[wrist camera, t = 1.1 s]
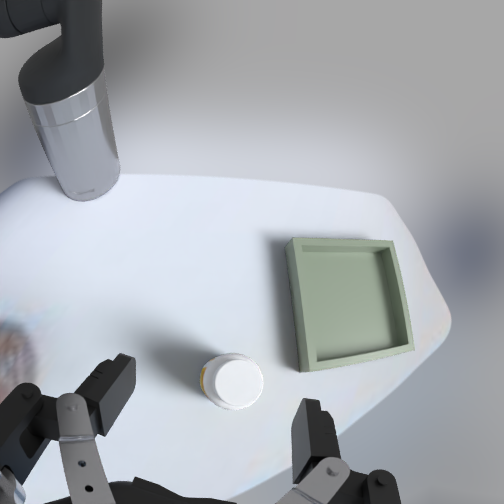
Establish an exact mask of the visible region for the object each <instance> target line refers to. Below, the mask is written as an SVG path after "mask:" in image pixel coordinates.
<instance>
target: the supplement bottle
mask: <svg viewBox="0 0 504 504" xmlns="http://www.w3.org/2000/svg"><path fill="white" fill-rule="evenodd" d="M200 386H201V389H202V391H203V392H204V394H205V395H206V396H207V397H208V398H209V399H210V401H212V402H213V403H214V404H215V405H217V406H219V407H221V408H223V409H227V410H240V409H244V408H246V407H248V406H250V405H251V404H253V403H254V402H255V401H256V400H257V399H258V397H259V396H260V394H261V392H262V389H263V376H262V373H261V370H260V368H259V367H258V365H257V364H256V363H255V362H254V361H253V360H252V359H250V358H249V357H247V356H245V355H242V354H238V353H228V354H223V355H220V356H218V357H216V358H213V359H211V360H210V361H208V362H207V363H206V364H205V366H204V367H203V369H202V371H201V374H200Z"/></svg>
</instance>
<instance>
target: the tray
mask: <svg viewBox="0 0 504 504" xmlns="http://www.w3.org/2000/svg"><path fill="white" fill-rule="evenodd" d="M285 252H286V260H287V267H288V275H289V283H290V290H291V299H292V307H293V315H294V324H295V332H296V341H297V351H298V360H299V370H300V372H313V371H319V370H325V369H331V368H337V367H342V366H348V365H353V364H358V363H363V362H367V361H372V360H376V359H381V358H385V357H389V356H393V355H397V354H401V353H405V352H409V351H413V350H415V348H414V341H413V334H412V327H411V321H410V316H409V310H408V305H407V300H406V295H405V290H404V285H403V280H402V276H401V271H400V267H399V263H398V259H397V255H396V251H395V247H394V243H393V241H387V240H359V239H328V238H292V239H291V240H290V242H289V243H288V244H287V245H286V247H285Z"/></svg>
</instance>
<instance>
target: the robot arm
mask: <svg viewBox="0 0 504 504" xmlns="http://www.w3.org/2000/svg"><path fill="white" fill-rule="evenodd" d="M59 23H60V24H61V33H62V35H61V36H59V37H58V38H57V39H55V40H54V41H52V42H51V43H49V44H47V45H46V46H44V47H43V48H41V49H40V50H38V51H37V52H36V53H35V54H33V55H32V56H31V57H30V58H29V59H28V60H27V61H26V63H25V64H24V65H23V67H22V68H21V70H20V73H19V77H18V81H19V87H20V90H21V92H22V96H23V99H24V101H25V104H26V107H27V110H28V112H29V115H30V118H31V120H32V123H33V125H34V127H35V130H36V132H37V135H38V137H39V140H40V142H41V144H42V147H43V149H44V151H45V154H46V156H47V158H48V160H49V162H50V164H51V167H52V169H53V171H54V173H55V175H56V177H57V179H58V181H59V183H60V185H61V187H62V189H63V191H64V193H65V194H66V195H67V196H68V197H70V198H71V199H74V200H77V201H88V200H93V199H96V198H98V197H100V196H102V195H104V194H105V193H106V192H108V191H109V190H110V189H111V188H112V187H113V186H114V184H115V183H116V181H117V179H118V177H119V173H120V164H119V159H118V154H117V148H116V143H115V137H114V132H113V126H112V120H111V115H110V109H109V101H108V94H107V88H106V79H105V71H104V59H103V44H102V43H103V41H102V0H0V38H10V37H15V36H19V35H22V34H25V33H28V32H31V31H35V30H38V29H41V28H44V27H48V26H52V25H55V24H59ZM135 384H136V360H135V358H134V357H131V356H128V355H125V354H122V353H120V354H118V356H117V357H116V358H115V359H114V360H113V361H112V360H109V359H107V360H105V361H103V362H101V363H100V364H99V365H98V366H97V367H96V368H95V369H94V371H92V373H91V374H90V376H88V377H87V378H86V379H85V381H84V382H83V383H82V384H81V385H80V386H79V388H78V389H77V390H76V391H75V392H74V393H66V394H63V395H61V396H60V397H59V398H54V397H50V396H46V395H42V394H41V391H40V389H39V388H38V387H37V386H36V385H34V384H32V383H22V384H19V385H18V386H17V387H16V388H15V389H14V390H13V391H12V392H11V393H10V394H9V395H8V396H7V397H6V398H5V399H4V401H3V402H2V403H1V404H0V504H24V502H25V499H26V494H25V491H24V489H23V487H22V485H23V483H24V482H25V480H26V479H27V477H28V475H29V474H30V472H31V470H32V469H33V467H34V466H35V464H36V462H37V461H38V459H39V458H40V456H41V455H42V453H43V451H44V450H45V448H46V447H47V445H48V444H49V442H50V441H51V440H55V441H59V446H60V451H61V457H62V462H63V467H64V472H65V476H66V481H67V485H68V489H69V493H70V496H69V497H66V498H62V499H59V500H56V501H52V502H49V503H45V504H237V503H234V502H228V501H222V500H217V499H212V498H188V497H182V496H180V495H178V494H176V493H174V492H172V491H170V490H168V489H166V488H164V487H162V486H160V485H159V484H155V483H152V482H149V481H146V480H143V479H141V478H138V477H134V480H133V482H129V481H116V482H110V483H108V481H107V478H106V475H105V472H104V469H103V466H102V463H101V460H100V456H99V453H98V449H97V446H96V442H95V437H96V436H97V434H100V435H102V436H104V437H105V436H106V435H107V433H108V432H109V430H110V428H111V427H112V425H113V423H114V422H115V420H116V419H117V417H118V415H119V414H120V412H121V411H122V409H123V407H124V406H125V404H126V403H127V401H128V399H129V398H130V396H131V395H132V393H133V391H134V388H135ZM291 438H292V469H293V484H298V485H297V486H296V487H295V488H292V489H291V490H290V491H289V492H288V493H286V494H285V495H284V496H283V497H282V498H281V499H280V500H279V501H278V502H277V503H275V504H401V500H400V496H399V492H398V488H397V483H396V479H395V477H394V476H393V475H392V474H391V473H390V472H388V471H385V470H374V471H372V472H371V473H370V474H369V475H367V474H362V473H358V472H355V471H352V470H350V468H349V466H348V465H347V463H346V462H345V461H343V460H341V456H340V451H339V445H338V440H337V435H336V430H335V425H334V420H333V418H332V417H331V415H330V414H329V412H328V411H321V406H320V401H319V400H315V399H307V398H303V399H302V401H301V403H300V406H299V408H298V410H297V413H296V415H295V417H294V419H293V423H292V428H291Z"/></svg>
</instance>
